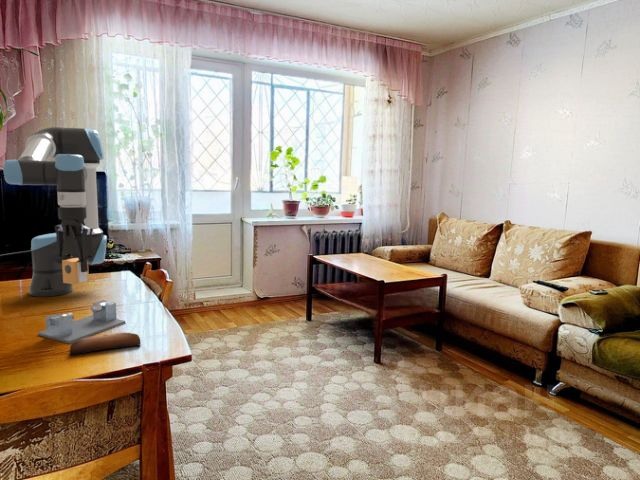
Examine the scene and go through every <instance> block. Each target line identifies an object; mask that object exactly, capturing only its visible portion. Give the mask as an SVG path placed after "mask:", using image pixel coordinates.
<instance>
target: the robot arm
mask: <svg viewBox="0 0 640 480" xmlns="http://www.w3.org/2000/svg"><path fill="white" fill-rule="evenodd" d="M103 153H104V152H103V147H102V141H101V137H100V133H99V131H97V130H96V129H93V128H91V129H90V128H80V127H79V128H78V127H77V128H76V127H59V126H52V127H47V128H42V129H40V130H37V131H35V132H34V133H32V134H31V135H29V136H28V138H27V139H26V141H25V148H24V150H23V151H22V153H21V155H20V157H19V158H18V159H15V158H14V159H6V160H5V161H4V163H3V175H4V176H3V178H4V181H5V182H6V183H7V184H9V185H18V186H25V185H26V186H28V185H29V186H56V192H57V193H56V194H57V204H58V206H59V207H57V212H58V213H57V216H58V220H61V223H60V224H57V225H54V231H55V232H53V233H46V234H42V235H41V234H40V235H37V236H35V237H33V238H32V239H31V242H30V243H31V244H30V246H31V247H30V251H31V265H32V278H31V280H30V284H29V286H28V293H29V294H28V295H30V296H33V297H41V298H43V297H44V298H45V297H55V296H61V295H65V294H68V293H71V292H72V291H73V290H74V288H73V287H74V284H68V283H63V270H62V260H67V259H72V258H79V260H78V261H77V273H78V283H80V284H83V282H84V283H87V271H88V272H89V265H99V264H100V265H101V264H102V263H104V261H105V259H106V249H107V239H108V236H107V235H105V234H104V231H103V230H102V228H100V226H99V207H98V206H99V205H98V188H97V168H98V167H99V166H100V164H101V162H100V161H102V160H104V154H103ZM52 158H55V160H54V161H53V160H50V159H52ZM87 262H88V265H87Z"/></svg>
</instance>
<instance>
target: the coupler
mask: <svg viewBox="0 0 640 480" xmlns="http://www.w3.org/2000/svg"><path fill="white" fill-rule="evenodd" d="M78 260H79V258H72V259H67V260H62V270H63V283H68V284H72V285H73V286H74V285H79V284H81V283H78V273H77V261H78ZM87 265H88V266H89V264H88V262H87ZM87 282H90V277H89V270H88V271H87ZM87 282H86V283H87ZM83 283H85V282H83ZM83 283H82V284H83Z"/></svg>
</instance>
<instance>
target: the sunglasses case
mask: <svg viewBox="0 0 640 480" xmlns="http://www.w3.org/2000/svg"><path fill="white" fill-rule="evenodd" d="M70 344H71V345H70V347H69V356H75V355H79V354H86V353H88V352H94V351H97V350H98V351H102V350H109V349H115V348H117V349H118V348H125V347H133V346H139V345H141V338H140V336H139V335H138V334H137V333H133V332H118V333H113V334H103V335H95V336H94V335H92V336H89V337H86V338H83V339H80V340H78V341H75V342H73V343H70Z"/></svg>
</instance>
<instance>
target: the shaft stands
mask: <svg viewBox="0 0 640 480" xmlns="http://www.w3.org/2000/svg"><path fill="white" fill-rule="evenodd" d="M90 309H91V312H92V315H93V319H94V320H98V321H102V322H109V321H112V320H115V319H118V318H117V303H116V302H112V301H111V300H104V299H102V300H99V301H96V302H92V306H91V308H90ZM74 318H75V316H74V313H72V312H71V311H70V312H67V313H64V314H63V313H54V314H50V315H48V316H45V330H46V333H47V335H49V336H53V337H57V338H63V337H66V336H69V335H72V334H73V332H72V321H74Z"/></svg>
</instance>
